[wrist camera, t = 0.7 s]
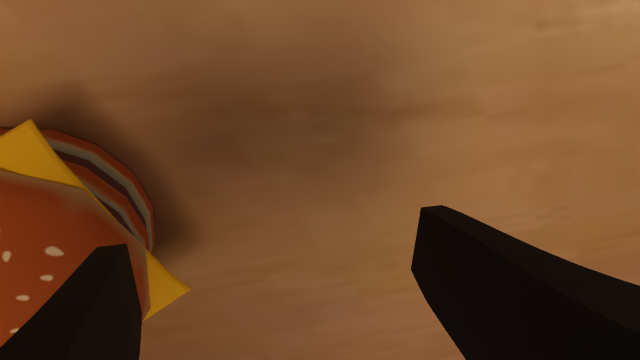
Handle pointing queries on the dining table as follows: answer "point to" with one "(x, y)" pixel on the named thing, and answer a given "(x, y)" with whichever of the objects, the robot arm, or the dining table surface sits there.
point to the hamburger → (69, 221)
